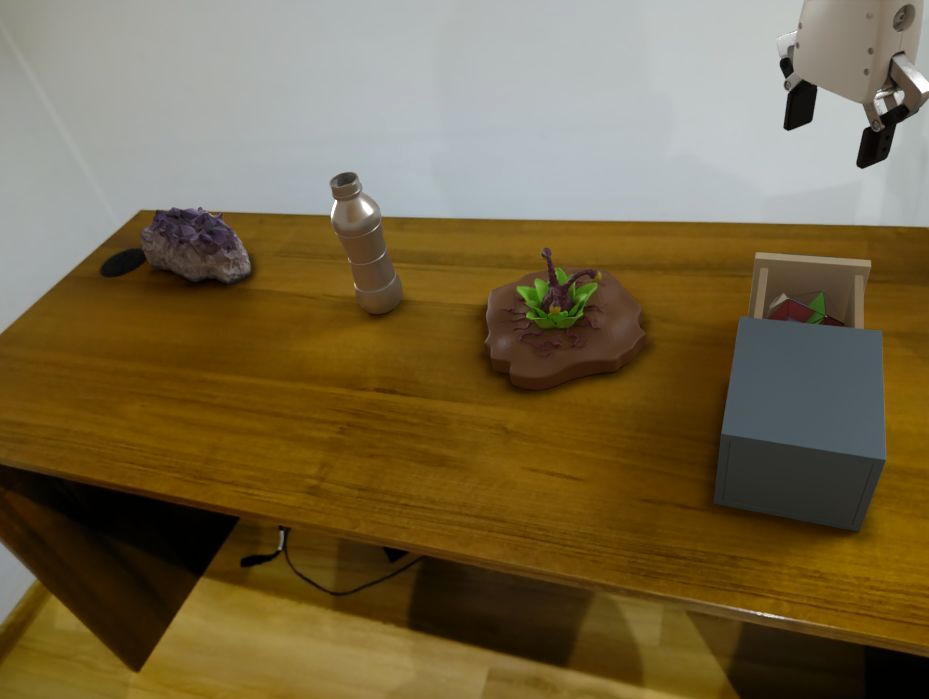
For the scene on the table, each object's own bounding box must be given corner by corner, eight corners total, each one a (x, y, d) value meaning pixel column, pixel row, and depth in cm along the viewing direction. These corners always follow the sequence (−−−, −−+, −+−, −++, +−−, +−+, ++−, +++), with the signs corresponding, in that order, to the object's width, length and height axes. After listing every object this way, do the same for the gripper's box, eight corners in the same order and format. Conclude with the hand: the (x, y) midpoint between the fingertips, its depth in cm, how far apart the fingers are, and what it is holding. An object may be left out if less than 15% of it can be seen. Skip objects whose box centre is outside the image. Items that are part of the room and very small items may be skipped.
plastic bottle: (352, 315, 101) (306, 191, 87) (377, 286, 105) (337, 163, 91) (390, 324, 98) (349, 197, 84) (415, 293, 102) (379, 168, 88)
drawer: (751, 289, 89) (759, 230, 83) (854, 298, 85) (870, 236, 79) (735, 398, 77) (743, 339, 71) (854, 415, 73) (873, 353, 67)
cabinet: (731, 388, 79) (739, 316, 72) (859, 405, 75) (881, 330, 68) (713, 503, 69) (721, 433, 62) (860, 532, 65) (886, 460, 58)
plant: (612, 266, 98) (610, 196, 91) (664, 361, 84) (666, 287, 76) (471, 300, 98) (456, 232, 91) (498, 401, 84) (483, 331, 76)
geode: (278, 250, 116) (251, 203, 109) (233, 301, 111) (202, 255, 103) (192, 227, 125) (162, 181, 118) (147, 272, 120) (112, 228, 112)
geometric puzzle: (851, 317, 79) (821, 265, 75) (857, 360, 74) (825, 307, 71) (785, 337, 83) (754, 289, 80) (787, 379, 78) (754, 330, 75)
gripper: (998, -38, 54) (937, 165, 65) (827, -74, 66) (801, 102, 78) (919, -8, 53) (870, 194, 64) (759, -51, 65) (743, 125, 77)
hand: (832, 143), depth 71 cm, fingers open, 9 cm apart
